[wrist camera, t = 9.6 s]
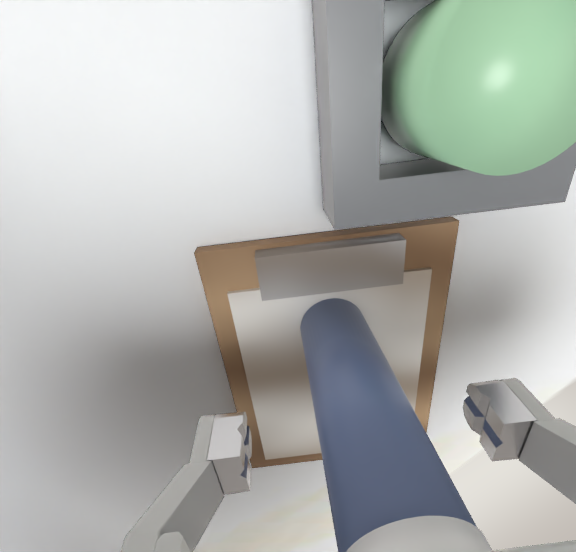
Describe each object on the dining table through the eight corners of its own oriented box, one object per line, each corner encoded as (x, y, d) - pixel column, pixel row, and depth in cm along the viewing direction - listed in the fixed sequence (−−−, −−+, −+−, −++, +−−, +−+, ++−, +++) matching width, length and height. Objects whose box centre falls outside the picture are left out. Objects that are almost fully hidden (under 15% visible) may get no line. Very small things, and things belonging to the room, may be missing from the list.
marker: (365, 349, 16) (506, 654, 6) (302, 357, 15) (352, 675, 6) (364, 293, 14) (539, 572, 5) (296, 301, 14) (347, 597, 5)
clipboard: (420, 438, 21) (429, 459, 19) (252, 458, 21) (251, 481, 19) (451, 216, 14) (470, 227, 12) (197, 247, 14) (190, 261, 12)
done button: (499, 148, 11) (595, 164, 8) (376, 163, 11) (421, 185, 8) (531, -15, 9) (678, -82, 6) (380, 3, 9) (443, -54, 6)
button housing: (514, 185, 13) (564, 201, 11) (323, 209, 13) (334, 229, 11) (577, -88, 9) (673, -147, 7) (309, -56, 9) (321, -105, 7)
